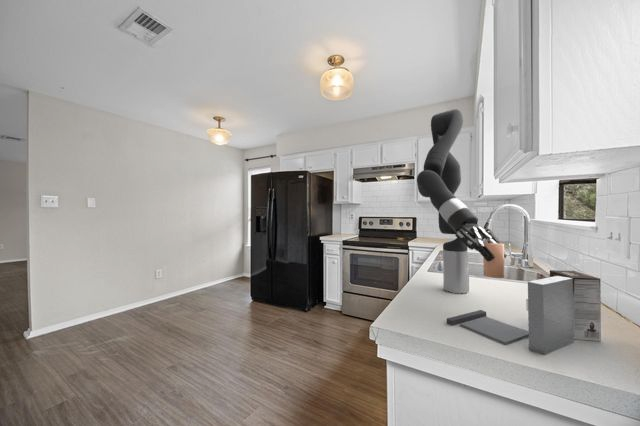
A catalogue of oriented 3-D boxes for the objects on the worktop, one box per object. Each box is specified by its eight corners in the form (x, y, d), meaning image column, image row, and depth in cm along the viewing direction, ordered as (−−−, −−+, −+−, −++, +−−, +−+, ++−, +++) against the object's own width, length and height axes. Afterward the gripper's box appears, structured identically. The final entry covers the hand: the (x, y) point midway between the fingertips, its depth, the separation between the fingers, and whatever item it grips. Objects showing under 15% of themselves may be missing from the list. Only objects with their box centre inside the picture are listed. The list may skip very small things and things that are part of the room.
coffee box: (548, 324, 73) (547, 269, 74) (574, 326, 72) (573, 270, 72) (573, 339, 64) (572, 276, 65) (603, 342, 63) (602, 278, 63)
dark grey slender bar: (480, 315, 81) (480, 309, 81) (486, 317, 80) (486, 311, 80) (446, 324, 74) (446, 318, 74) (452, 327, 73) (452, 320, 73)
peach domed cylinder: (490, 273, 73) (490, 242, 73) (508, 277, 69) (508, 244, 69) (479, 274, 71) (479, 243, 71) (497, 278, 67) (497, 244, 67)
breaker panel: (552, 335, 67) (551, 274, 67) (573, 342, 63) (572, 278, 63) (523, 346, 61) (521, 280, 61) (544, 355, 57) (543, 284, 57)
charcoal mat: (486, 318, 78) (486, 316, 78) (532, 335, 67) (532, 332, 67) (460, 325, 73) (460, 323, 73) (505, 344, 62) (505, 342, 62)
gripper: (449, 206, 75) (491, 252, 64) (479, 207, 81) (523, 249, 70) (434, 223, 80) (471, 269, 68) (464, 223, 86) (503, 264, 74)
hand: (497, 258), depth 69 cm, fingers closed on peach domed cylinder, 4 cm apart
